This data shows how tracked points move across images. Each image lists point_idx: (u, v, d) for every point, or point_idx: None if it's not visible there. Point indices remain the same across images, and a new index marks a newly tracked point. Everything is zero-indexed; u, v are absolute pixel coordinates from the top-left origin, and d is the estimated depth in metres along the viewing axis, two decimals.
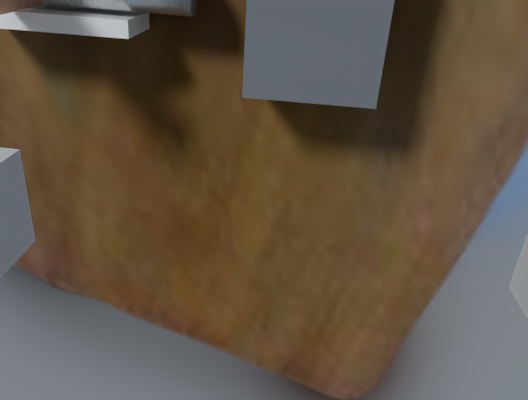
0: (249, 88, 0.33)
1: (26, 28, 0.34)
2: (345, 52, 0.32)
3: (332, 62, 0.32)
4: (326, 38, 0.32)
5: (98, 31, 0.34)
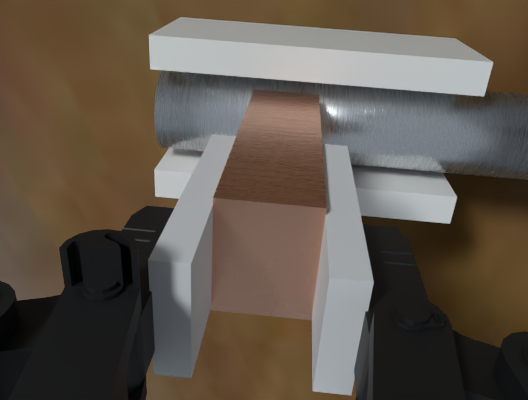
0: None
1: None
2: None
3: None
4: None
5: (400, 211, 0.20)
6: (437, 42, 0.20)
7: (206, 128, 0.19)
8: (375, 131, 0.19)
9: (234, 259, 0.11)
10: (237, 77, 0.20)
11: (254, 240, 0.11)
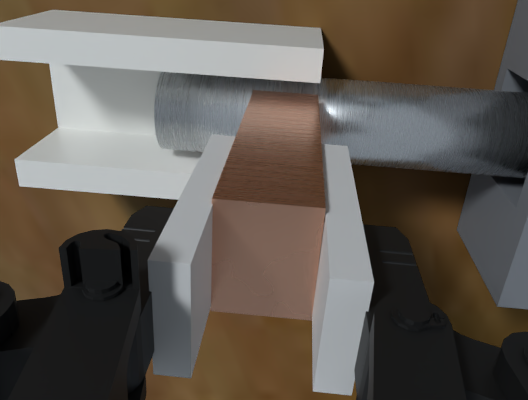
0: (513, 294, 0.20)
1: (135, 192, 0.21)
2: None
3: None
4: None
5: None
6: (294, 31, 0.21)
7: (206, 128, 0.19)
8: (375, 130, 0.19)
9: (233, 260, 0.11)
10: (236, 78, 0.20)
11: (253, 241, 0.11)
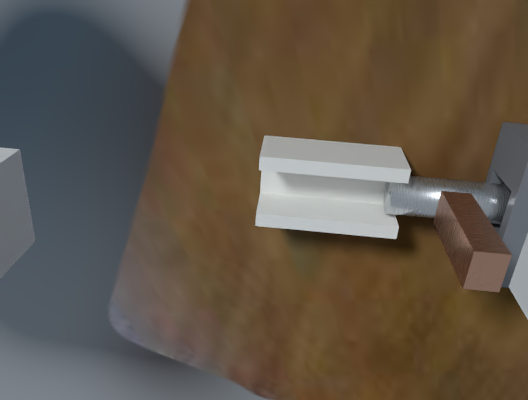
0: None
1: (313, 229, 0.43)
2: None
3: None
4: None
5: (372, 233, 0.42)
6: (390, 152, 0.43)
7: (415, 206, 0.41)
8: (496, 209, 0.41)
9: (476, 271, 0.33)
10: (428, 182, 0.41)
11: (485, 264, 0.33)
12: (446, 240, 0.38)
